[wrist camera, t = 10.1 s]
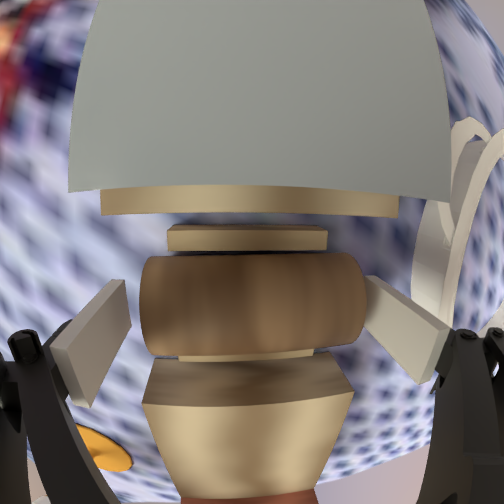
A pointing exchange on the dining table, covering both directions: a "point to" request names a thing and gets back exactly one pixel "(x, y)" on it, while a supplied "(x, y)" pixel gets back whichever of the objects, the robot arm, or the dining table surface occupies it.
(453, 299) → the cream oval ring
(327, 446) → the track
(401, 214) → the dining table surface
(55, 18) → the dining table surface
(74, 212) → the dining table surface
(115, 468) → the cup
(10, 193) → the dining table surface
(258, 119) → the slab
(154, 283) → the roller
